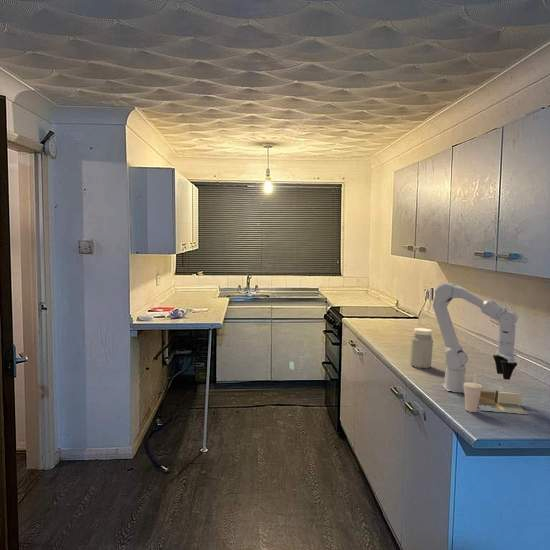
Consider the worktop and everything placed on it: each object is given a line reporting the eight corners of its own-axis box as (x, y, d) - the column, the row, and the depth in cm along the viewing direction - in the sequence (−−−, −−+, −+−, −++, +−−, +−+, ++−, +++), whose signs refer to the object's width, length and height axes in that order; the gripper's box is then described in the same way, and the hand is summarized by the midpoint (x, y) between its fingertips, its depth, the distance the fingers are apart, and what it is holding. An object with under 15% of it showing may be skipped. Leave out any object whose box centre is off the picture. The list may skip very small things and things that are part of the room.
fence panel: (498, 402, 188) (499, 392, 188) (497, 401, 189) (498, 391, 189) (520, 404, 187) (521, 394, 187) (519, 403, 188) (520, 393, 188)
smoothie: (480, 415, 176) (483, 376, 174) (461, 412, 178) (464, 374, 177) (480, 409, 181) (483, 372, 180) (461, 406, 184) (464, 369, 183)
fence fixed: (470, 401, 190) (472, 388, 190) (496, 403, 189) (497, 390, 189) (471, 402, 189) (472, 389, 189) (497, 404, 188) (498, 391, 188)
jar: (432, 370, 233) (434, 332, 231) (410, 367, 235) (413, 330, 233) (429, 364, 243) (432, 328, 241) (409, 362, 244) (411, 326, 243)
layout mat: (468, 396, 196) (468, 395, 196) (512, 400, 194) (512, 399, 194) (480, 411, 180) (480, 410, 180) (528, 415, 178) (528, 414, 178)
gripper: (524, 347, 184) (520, 382, 185) (510, 338, 198) (507, 372, 199) (504, 345, 185) (501, 381, 186) (492, 337, 199) (489, 370, 200)
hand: (503, 376), depth 193 cm, fingers open, 7 cm apart
